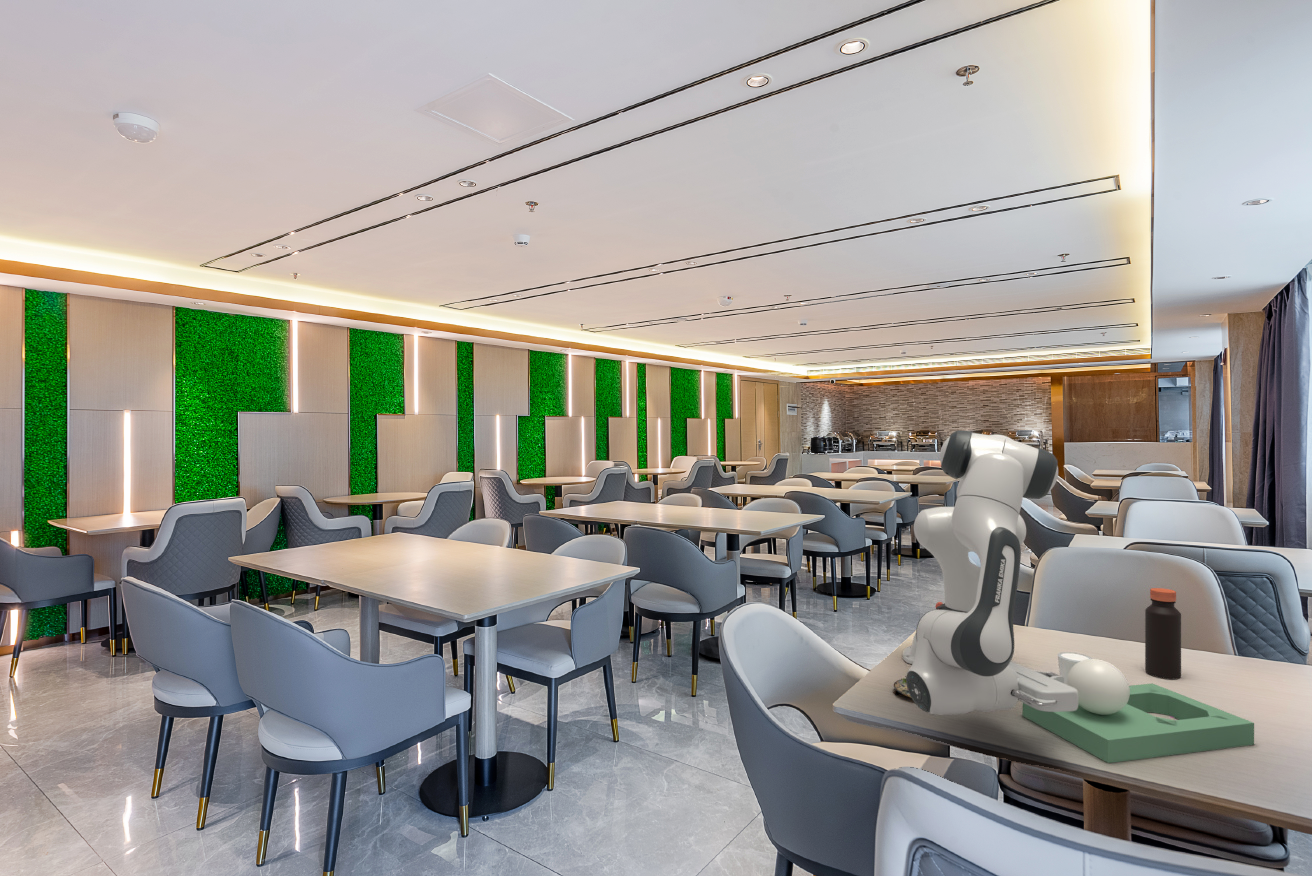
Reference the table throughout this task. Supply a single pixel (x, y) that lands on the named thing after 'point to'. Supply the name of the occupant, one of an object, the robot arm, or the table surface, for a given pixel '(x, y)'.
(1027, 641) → the table surface
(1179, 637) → the bottle
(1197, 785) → the table surface
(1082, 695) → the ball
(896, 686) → the burger
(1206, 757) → the table surface
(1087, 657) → the white cup
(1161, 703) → the green cutout tray
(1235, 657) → the table surface
